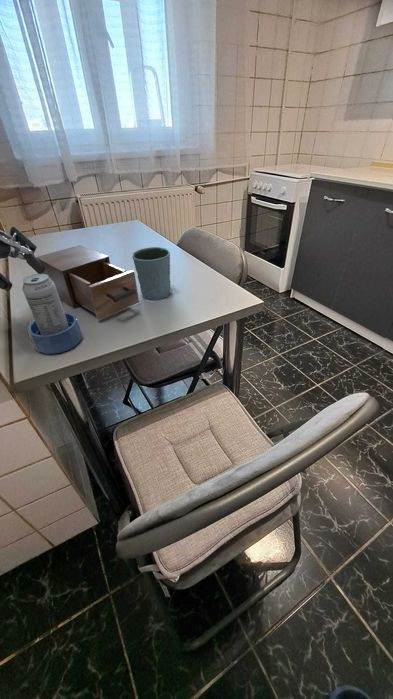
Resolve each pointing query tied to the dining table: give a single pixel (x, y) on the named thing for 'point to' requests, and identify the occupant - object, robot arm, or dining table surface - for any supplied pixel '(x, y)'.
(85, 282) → the drawer
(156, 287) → the blue ceramic cup
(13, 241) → the robot arm
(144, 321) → the dining table surface
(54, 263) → the cabinet
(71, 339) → the bowl
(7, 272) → the dining table surface
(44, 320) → the energy drink can
